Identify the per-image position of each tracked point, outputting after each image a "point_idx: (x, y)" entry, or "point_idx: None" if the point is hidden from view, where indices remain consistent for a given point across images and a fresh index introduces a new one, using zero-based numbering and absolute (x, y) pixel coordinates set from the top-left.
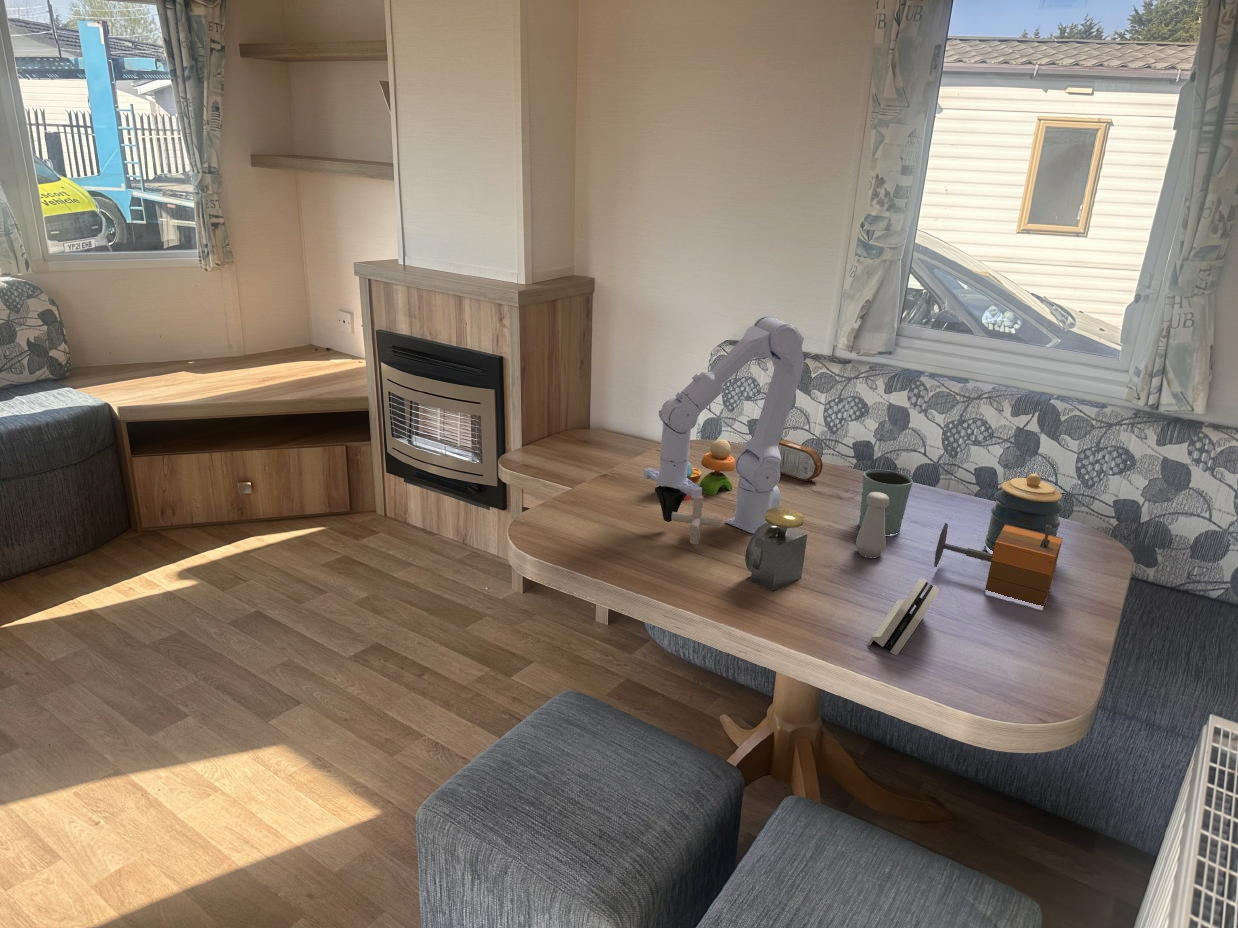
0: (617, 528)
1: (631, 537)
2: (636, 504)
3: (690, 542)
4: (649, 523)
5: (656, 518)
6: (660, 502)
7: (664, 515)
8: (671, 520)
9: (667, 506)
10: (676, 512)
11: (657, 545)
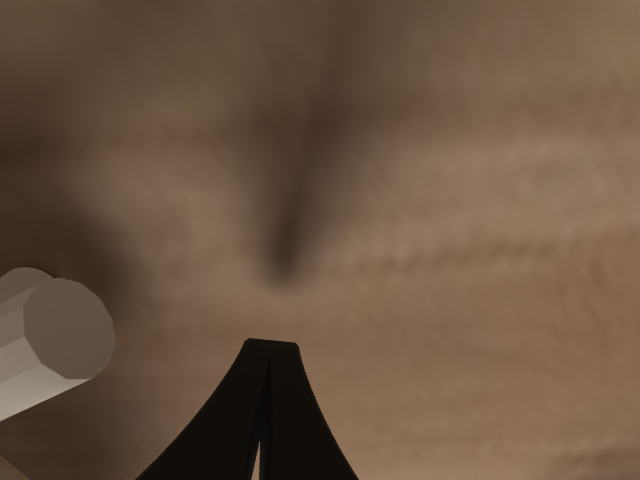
0: (574, 97)
1: (396, 30)
2: (620, 457)
3: (39, 272)
4: (429, 323)
5: (435, 399)
6: (333, 461)
7: (278, 364)
8: (73, 281)
9: (212, 441)
10: (13, 391)
11: (148, 58)
